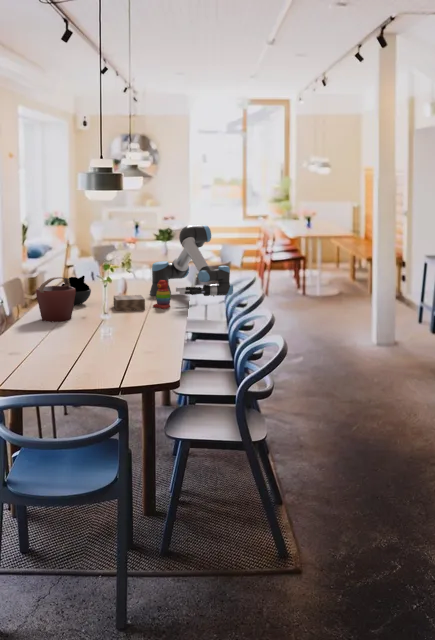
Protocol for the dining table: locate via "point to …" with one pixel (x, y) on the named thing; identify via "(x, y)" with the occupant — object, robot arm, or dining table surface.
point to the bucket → (56, 301)
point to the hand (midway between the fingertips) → (177, 291)
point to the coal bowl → (79, 289)
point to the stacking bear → (162, 295)
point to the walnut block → (129, 302)
